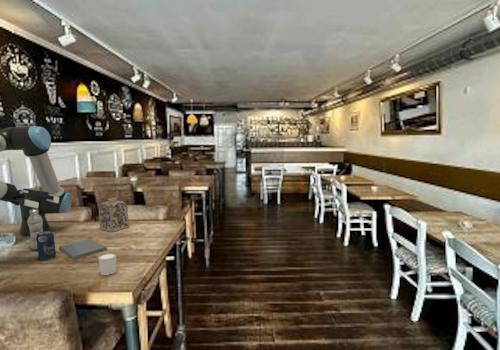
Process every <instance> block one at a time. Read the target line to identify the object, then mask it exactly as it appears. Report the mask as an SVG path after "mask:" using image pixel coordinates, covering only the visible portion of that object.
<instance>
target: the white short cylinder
mask: <svg viewBox="0 0 500 350" xmlns="http://www.w3.org/2000/svg"><path fill="white" fill-rule="evenodd" d="M97 260H98V261H97V262H98V265H99V269H100V271H99V272H100V274H102V276H103V275H109V274H112V275H114V274H113V273H115V272H116V273H117V254H116V253H104V254H101V255H99V256H98V258H97ZM116 273H115V274H116ZM109 276H110V275H109Z"/></svg>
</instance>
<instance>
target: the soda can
mask: <svg viewBox="0 0 500 350" xmlns="http://www.w3.org/2000/svg"><path fill="white" fill-rule="evenodd" d="M36 240H37V248H38V250H37V255H38V258H39V259H40V260H41V261H48V260H52V259H54V258H55V257H56V255H57V252H56V243H55V234H54V233H53V232H52V230H50V231H43V232H39V233H38V234H37V237H36Z"/></svg>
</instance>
